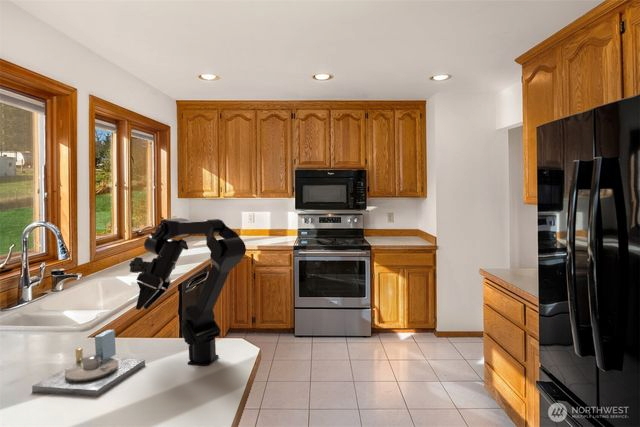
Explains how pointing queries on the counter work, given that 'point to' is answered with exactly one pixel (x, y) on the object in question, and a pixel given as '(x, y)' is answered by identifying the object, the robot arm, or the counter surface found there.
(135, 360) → the locating plate
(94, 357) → the flange
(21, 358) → the counter surface
